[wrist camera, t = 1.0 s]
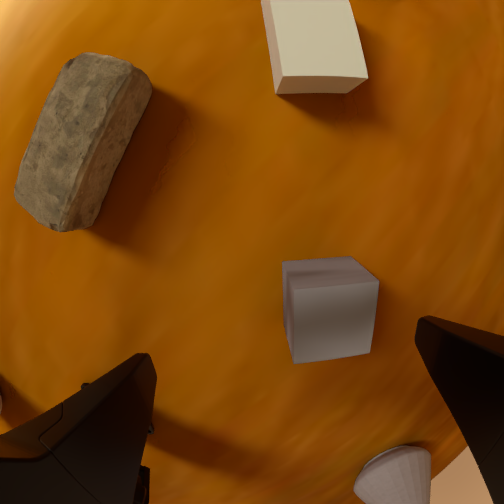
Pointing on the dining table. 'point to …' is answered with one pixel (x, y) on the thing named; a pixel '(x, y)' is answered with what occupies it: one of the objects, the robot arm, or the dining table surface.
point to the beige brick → (313, 46)
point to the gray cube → (328, 308)
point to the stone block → (80, 140)
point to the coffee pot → (396, 477)
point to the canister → (0, 403)
